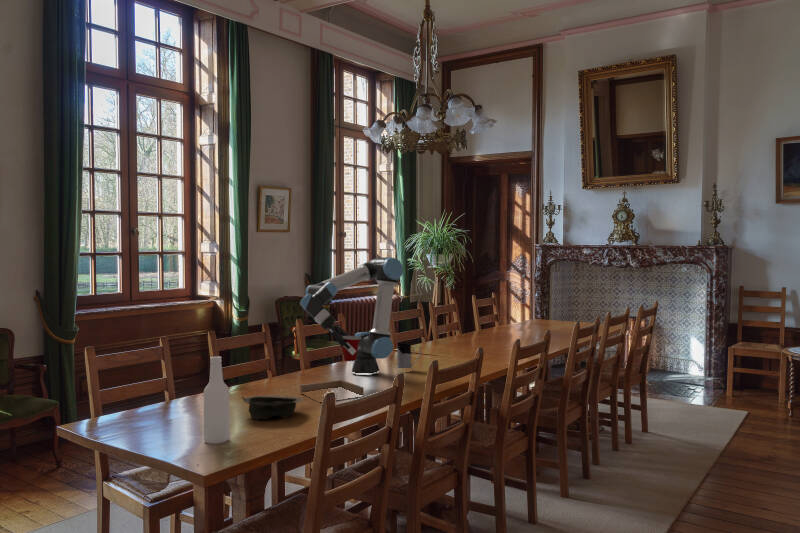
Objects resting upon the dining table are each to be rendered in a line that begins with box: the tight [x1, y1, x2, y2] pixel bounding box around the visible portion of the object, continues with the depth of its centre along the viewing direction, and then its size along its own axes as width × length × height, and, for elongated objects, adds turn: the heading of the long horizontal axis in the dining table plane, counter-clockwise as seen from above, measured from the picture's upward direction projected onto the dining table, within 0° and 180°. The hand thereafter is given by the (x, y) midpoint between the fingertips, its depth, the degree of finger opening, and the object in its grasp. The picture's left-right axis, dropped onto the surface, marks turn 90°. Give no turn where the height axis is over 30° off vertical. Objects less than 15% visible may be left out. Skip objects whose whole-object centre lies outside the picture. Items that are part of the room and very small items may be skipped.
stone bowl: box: [242, 395, 304, 421], centre depth 262 cm, size 25×25×9 cm
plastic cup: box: [341, 335, 361, 362], centre depth 318 cm, size 11×11×12 cm
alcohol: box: [203, 355, 231, 445], centre depth 227 cm, size 9×9×30 cm
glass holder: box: [396, 343, 422, 369], centre depth 359 cm, size 9×14×15 cm, turn 107°
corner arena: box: [299, 379, 365, 401], centre depth 298 cm, size 22×22×4 cm
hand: (356, 351), depth 317 cm, fingers closed on plastic cup, 10 cm apart
